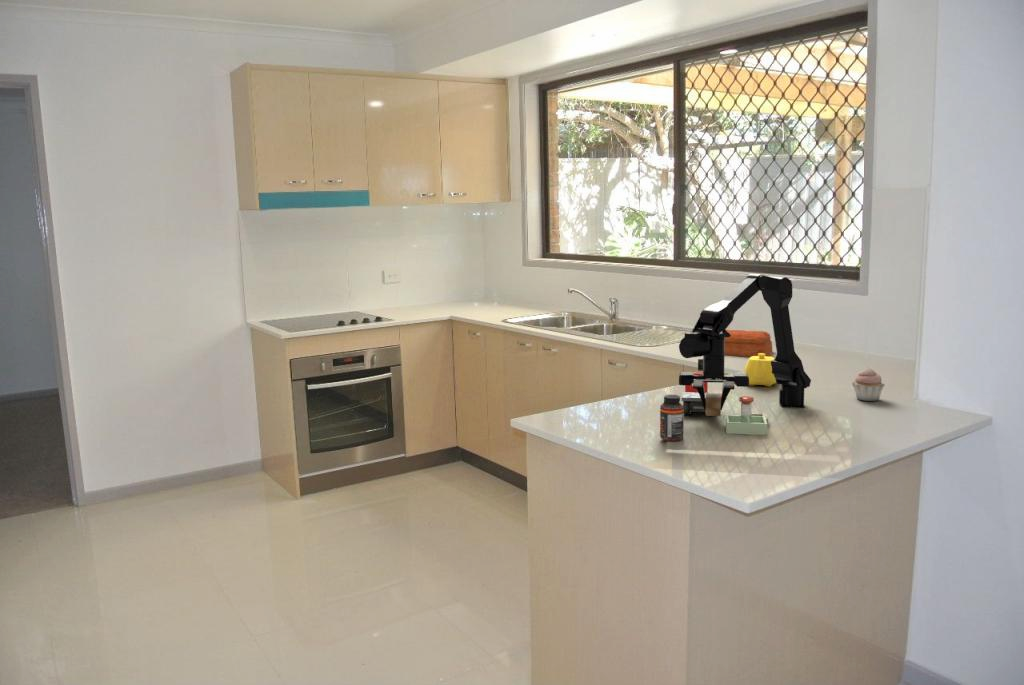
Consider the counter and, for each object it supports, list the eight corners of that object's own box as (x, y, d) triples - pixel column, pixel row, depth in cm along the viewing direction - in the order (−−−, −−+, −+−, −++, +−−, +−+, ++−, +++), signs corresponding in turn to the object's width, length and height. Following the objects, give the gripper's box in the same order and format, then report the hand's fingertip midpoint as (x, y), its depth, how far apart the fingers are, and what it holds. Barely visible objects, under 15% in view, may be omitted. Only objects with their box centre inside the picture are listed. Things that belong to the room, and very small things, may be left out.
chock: (720, 410, 228) (720, 393, 227) (720, 415, 222) (720, 398, 221) (705, 410, 228) (705, 393, 228) (705, 415, 223) (705, 397, 222)
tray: (764, 426, 218) (764, 416, 218) (767, 434, 210) (767, 423, 210) (725, 425, 220) (725, 414, 220) (726, 433, 212) (726, 422, 212)
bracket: (687, 400, 251) (687, 375, 250) (685, 397, 256) (685, 372, 255) (726, 400, 250) (726, 375, 249) (723, 396, 255) (723, 372, 254)
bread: (766, 362, 312) (766, 335, 310) (698, 357, 325) (698, 331, 323) (775, 355, 325) (775, 329, 323) (709, 351, 338) (710, 326, 337)
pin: (752, 426, 216) (753, 396, 215) (753, 430, 213) (753, 399, 212) (738, 426, 217) (739, 396, 216) (739, 429, 214) (739, 399, 213)
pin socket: (766, 420, 224) (766, 413, 224) (767, 426, 219) (768, 418, 218) (743, 419, 226) (743, 412, 225) (744, 425, 220) (744, 418, 220)
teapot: (776, 392, 259) (776, 359, 258) (740, 390, 263) (741, 357, 262) (780, 381, 276) (780, 350, 274) (746, 379, 280) (747, 349, 278)
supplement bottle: (657, 436, 212) (657, 393, 210) (679, 435, 212) (680, 392, 210) (663, 442, 206) (663, 399, 204) (686, 441, 206) (686, 398, 204)
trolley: (718, 411, 236) (719, 393, 236) (719, 417, 229) (719, 399, 228) (680, 410, 239) (680, 392, 238) (679, 416, 231) (679, 397, 231)
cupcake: (870, 394, 253) (871, 363, 251) (891, 401, 244) (892, 368, 242) (844, 396, 250) (845, 365, 249) (864, 403, 242) (865, 370, 240)
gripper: (747, 349, 228) (746, 403, 231) (679, 349, 232) (679, 402, 235) (749, 356, 217) (748, 413, 220) (678, 355, 222) (678, 411, 224)
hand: (713, 409), depth 225 cm, fingers closed on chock, 4 cm apart
